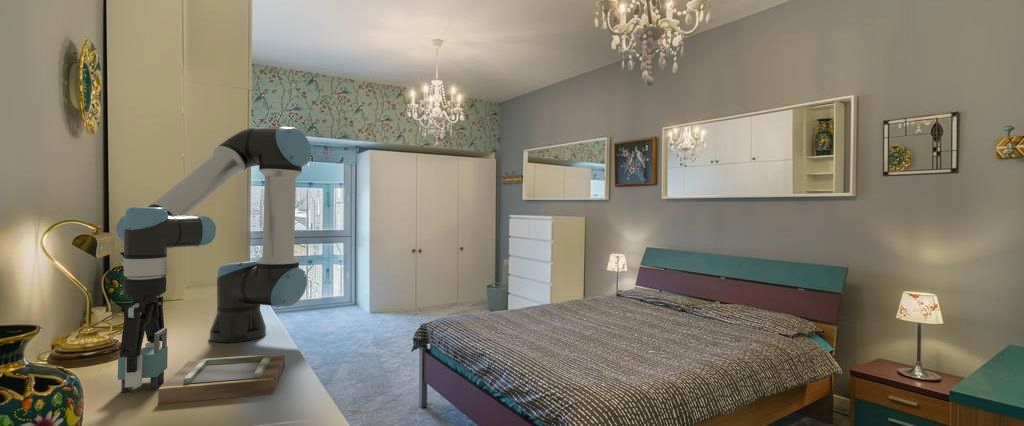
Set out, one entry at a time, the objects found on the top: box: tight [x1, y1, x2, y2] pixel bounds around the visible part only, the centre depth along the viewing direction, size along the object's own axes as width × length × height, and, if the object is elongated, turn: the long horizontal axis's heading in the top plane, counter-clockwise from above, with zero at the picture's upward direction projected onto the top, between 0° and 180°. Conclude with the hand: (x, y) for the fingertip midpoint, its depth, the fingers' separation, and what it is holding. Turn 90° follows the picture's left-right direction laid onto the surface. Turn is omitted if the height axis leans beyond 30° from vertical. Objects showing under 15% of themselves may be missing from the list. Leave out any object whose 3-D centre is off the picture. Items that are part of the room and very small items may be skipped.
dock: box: [157, 353, 286, 405], centre depth 108 cm, size 18×21×4 cm
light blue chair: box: [117, 327, 169, 394], centre depth 104 cm, size 6×7×12 cm
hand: (143, 378), depth 104 cm, fingers open, 9 cm apart
